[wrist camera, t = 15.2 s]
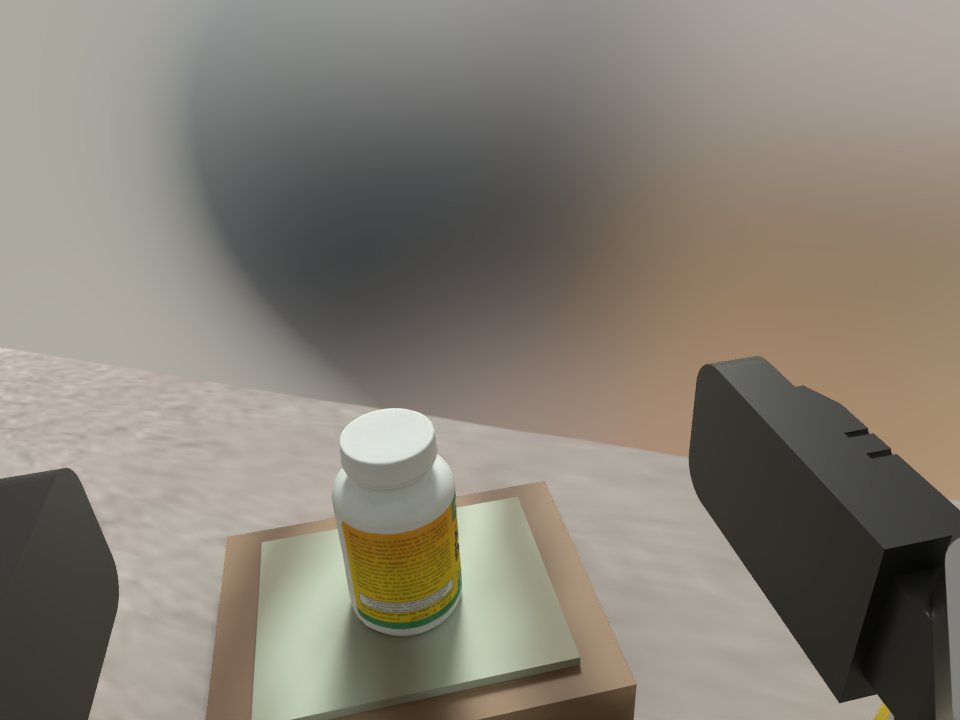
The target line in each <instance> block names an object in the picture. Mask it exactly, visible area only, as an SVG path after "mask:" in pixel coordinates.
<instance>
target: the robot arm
mask: <svg viewBox="0 0 960 720" xmlns="http://www.w3.org/2000/svg"><path fill="white" fill-rule="evenodd" d="M689 468H690V474H691V479H692V483H693V486H694V489H695V491H696V494H697V496H698V498H699V499H700V501H701V503H702V504H703V506H704V507H705V509H706V510H707V511H708V513H709V514H710V516H711V517H712V519H713V520H714V522H715V523H716V525H717V526H718V527H719V529H720V530H721V532H722V533H723V535H724V536H725V538H726V539H727V540H728V542H729V543H730V545H731V546H732V548H733V549H734V551H735V552H736V554H737V555H738V556H739V558H740V559H741V561H742V562H743V564H744V565H745V567H746V568H747V570H748V571H749V572H750V574H751V575H752V577H753V578H754V580H755V581H756V583H757V584H758V586H759V587H760V588H761V590H762V591H763V593H764V594H765V596H766V597H767V599H768V600H769V601H770V603H771V604H772V606H773V607H774V609H775V610H776V612H777V613H778V615H779V616H780V617H781V619H782V620H783V622H784V623H785V625H786V626H787V628H788V629H789V631H790V632H791V633H792V635H793V636H794V638H795V639H796V641H797V642H798V644H799V645H800V647H801V648H802V649H803V651H804V652H805V654H806V655H807V657H808V658H809V660H810V661H811V662H812V664H813V665H814V667H815V668H816V670H817V671H818V673H819V674H820V676H821V677H822V678H823V680H824V681H825V683H826V684H827V686H828V687H829V689H830V690H831V692H832V693H833V694H834V696H835V697H836V699H837V700H838V702H839V703H842V702H846V701H851V700H855V699H859V698H863V697H867V696H871V695H876V694H877V695H878V696H879V697H880V699H881V700H882V701H883V703H884V704H885V705H886V707H887V708H888V709H889V711H890V713H889V716H888V719H887V720H960V510H959V509H958V508H957V507H955V506H954V505H953V504H952V503H951V502H950V501H949V500H948V499H947V498H945V497H944V496H943V495H942V494H941V493H940V492H938V491H937V490H936V489H935V488H934V487H933V486H932V485H931V484H929V482H928V481H926V480H925V479H924V478H923V477H922V476H921V475H920V474H918V473H917V472H916V471H915V470H914V469H913V468H912V467H911V466H910V465H908V464H907V463H906V462H905V461H904V460H903V459H902V458H901V457H900V456H898V455H897V454H895V455H892V453H891V448H889V447H888V446H887V445H886V444H885V443H884V442H883V441H882V440H881V439H879V438H878V437H877V436H876V435H875V434H874V433H873V434H869V432H868V428H867V427H866V426H865V425H864V424H863V423H862V422H860V421H859V420H858V419H857V418H856V417H855V416H854V415H853V414H851V413H850V412H849V411H848V410H847V409H846V408H845V407H844V406H842V405H841V404H840V403H838V402H836V401H834V400H831V399H830V398H828V397H826V396H823V395H821V394H819V393H817V392H815V391H813V390H811V389H809V388H807V387H805V386H798V387H795V386H794V385H792V384H791V383H790V382H789V381H788V380H787V379H786V378H785V377H784V376H783V375H782V374H781V373H780V372H779V371H778V370H777V369H775V368H774V367H773V366H772V365H771V364H770V363H769V362H768V361H767V360H765V359H764V358H762V357H759V356H754V357H748V358H743V359H737V360H730V361H724V362H718V363H712V364H706V365H704V366H702V368H701V369H700V371H699V373H698V376H697V383H696V392H695V402H694V411H693V421H692V431H691V440H690V449H689ZM118 600H119V584H118V575H117V570H116V565H115V562H114V559H113V556H112V554H111V552H110V549H109V547H108V545H107V542H106V540H105V538H104V535H103V533H102V531H101V528H100V526H99V524H98V521H97V519H96V517H95V514H94V512H93V510H92V507H91V505H90V502H89V500H88V498H87V495H86V493H85V491H84V488H83V486H82V484H81V482H80V480H79V478H78V476H77V475H76V474H75V473H74V471H72V470H71V469H68V468H63V469H57V470H51V471H45V472H39V473H33V474H27V475H21V476H15V477H8V478H2V479H0V720H88V718H89V714H90V710H91V706H92V703H93V699H94V695H95V691H96V688H97V684H98V680H99V676H100V673H101V669H102V665H103V661H104V658H105V654H106V650H107V647H108V643H109V639H110V635H111V632H112V628H113V624H114V620H115V617H116V613H117V608H118Z"/></svg>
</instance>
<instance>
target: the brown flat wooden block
mask: <svg viewBox="0 0 960 720" xmlns="http://www.w3.org/2000/svg"><path fill="white" fill-rule="evenodd" d="M456 510H457V523H458V536H459V549H460V562H461V575H462V591H461V596H460V599H459V602H458V604H457V606H456V607H455V609H454V611H453V612H452V613H451V615H450V616H449V617H448V618H447V619H446V620H444V621H443V622H442V623H440V624H439V625H438V626H436V627H434V628H432V629H430V630H428V631H426V632H423V633H420V634H416V635H410V636H394V635H389V634H385V633H382V632H379V631H376V630H374V629H372V628H370V627H368V626H367V625H365V624H364V623H363V622H362V621H361V620H360V619H359V617H358V616H357V615H356V613H355V611H354V609H353V607H352V604H351V600H350V595H349V590H348V584H347V578H346V572H345V566H344V560H343V554H342V549H341V544H340V539H339V534H338V529H337V523H336V518H332V519H326V520H321V521H315V522H309V523H304V524H298V525H292V526H287V527H281V528H275V529H270V530H264V531H258V532H253V533H247V534H241V535H235V536H230V537H227V545H226V553H225V562H224V570H223V579H222V588H221V596H220V605H219V613H218V622H217V631H216V639H215V648H214V656H213V665H212V673H211V682H210V691H209V699H208V708H207V716H206V720H633V719H634V707H635V695H636V682H635V680H634V678H633V676H632V673H631V671H630V669H629V667H628V665H627V662H626V660H625V658H624V656H623V653H622V651H621V649H620V647H619V645H618V642H617V640H616V638H615V636H614V634H613V631H612V629H611V627H610V625H609V622H608V620H607V618H606V616H605V614H604V611H603V609H602V607H601V605H600V603H599V600H598V598H597V596H596V594H595V591H594V589H593V587H592V585H591V583H590V580H589V578H588V576H587V574H586V571H585V569H584V567H583V565H582V563H581V560H580V558H579V556H578V554H577V552H576V549H575V547H574V545H573V543H572V540H571V538H570V536H569V534H568V532H567V529H566V527H565V525H564V523H563V521H562V518H561V516H560V514H559V512H558V509H557V507H556V505H555V503H554V501H553V498H552V496H551V494H550V492H549V490H548V487H547V485H546V483H545V481H543V482H537V483H531V484H526V485H520V486H514V487H509V488H503V489H497V490H491V491H486V492H480V493H474V494H469V495H463V496H457V497H456Z"/></svg>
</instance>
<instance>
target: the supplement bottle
mask: <svg viewBox="0 0 960 720" xmlns="http://www.w3.org/2000/svg"><path fill="white" fill-rule="evenodd" d="M437 451H438V450H437V445H436V437H435V431H434V427H433V425H432V423H431V422H430V420H429V419H428V418H427V417H425V416H424V415H422V414H420V413H418V412H415V411H412V410H408V409H400V408H390V409H382V410H377V411H373V412H370V413H367V414H364V415H362V416H360V417H358V418H357V419H355V420H353V421H352V422H351V423H350V424H348V425H347V426H346V427H345V429H344V430H343V432H342V433H341V436H340V452H341V463H342V467H343V468H342V469H341V470H340V472H339V473H338V475H337V477H336V479H335V482H334V485H333V490H332V500H333V507H334V512H335V518H336V523H337V529H338V534H339V539H340V544H341V549H342V554H343V560H344V566H345V572H346V578H347V584H348V590H349V595H350V600H351V604H352V607H353V609H354V611H355V613H356V615H357V616H358V617H359V619H360V620H361V621H362V622H363V623H364V624H365V625H367V626H368V627H370V628H372V629H374V630H376V631H379V632H382V633H385V634H389V635H394V636H410V635H416V634H420V633H423V632H426V631H428V630H430V629H432V628H434V627H436V626H438V625H439V624H440V623H442V622H443V621H444V620H446V619H447V618H448V617H449V616H450V615H451V613H452V612H453V611H454V609H455V607H456V606H457V604H458V602H459V599H460V596H461V591H462V575H461V562H460V549H459V536H458V523H457V510H456V495H455V484H454V478H453V474H452V472H451V469H450V468H449V466H448V464H447V463H446V462H445V461H444V460H443V458H441V457H440V456H439V455H438V454H437Z"/></svg>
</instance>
